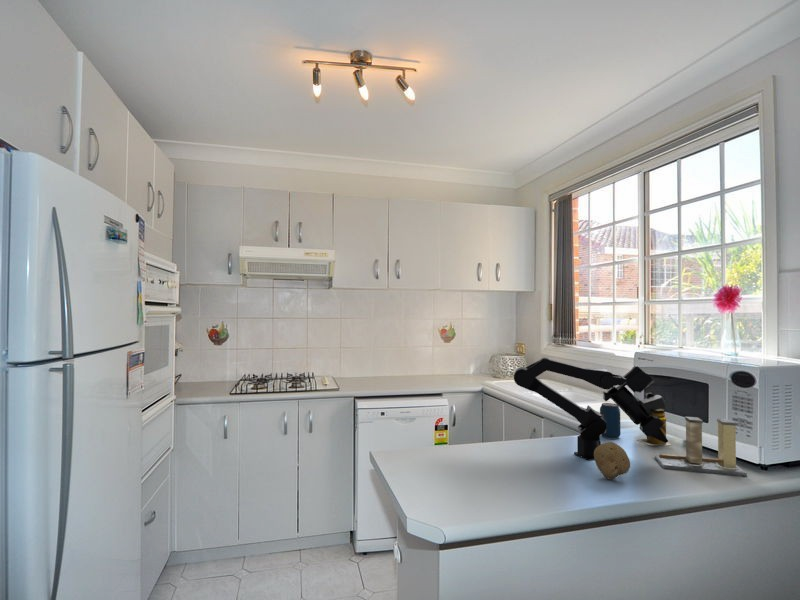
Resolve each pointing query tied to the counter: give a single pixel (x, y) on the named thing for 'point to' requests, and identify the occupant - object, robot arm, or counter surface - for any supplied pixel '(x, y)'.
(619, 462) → the natural sponge
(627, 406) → the robot arm
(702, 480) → the counter surface
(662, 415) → the condiment
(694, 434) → the post
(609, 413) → the soda can
